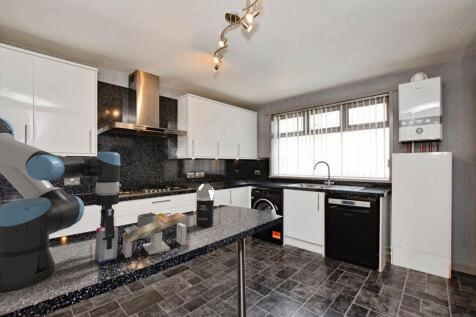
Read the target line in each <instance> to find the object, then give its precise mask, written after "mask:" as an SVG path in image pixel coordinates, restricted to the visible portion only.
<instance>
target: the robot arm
mask: <svg viewBox="0 0 476 317" xmlns="http://www.w3.org/2000/svg"><path fill="white" fill-rule="evenodd" d="M121 165H122V164H121V155H120V153H118V152H116V151H115V152H113V151H112V152H111V151H98V152H97V153H96V157H95V156H94V157H92V156H91V157H88V156H85V157H84V156H68V155H67V156H65V155H64V156H63V155H56V154H53V153H51V152H49V151H46V150H43V149H40V148H37V147H36V146H33V145H30V144H27V143H25V142H22V141H19V140H17V139H15V130H14V126H13V125H12V124H11V123H10V122H9V121H8V120H7V119H5V118H3V117H0V173H1V175H2V176H3V177H4V178H5V179H6V180H7V181H8V182H9V183H10V184H11V185H12V186H13V188H14V189H15V190H17V192H18V193H19V194H20V195H21V196H22V197H23V199H17V200H14V201H10V202H7V203H5V204H3V205H1V206H0V292H1V293H2V292H8V291H13V290H14V291H15V290H18V289H23V288H26V287H29V286H32V285H35V284H38V283H40V282H43V281H44V280H46V279H48V278H49V277H51V276H52V275H53V274H54V273H55V269H56V263H55V260H54V257H53V255H52V252H51V250H50V248H49V247H50V246H49V244H50V243H49V242H50V235H52V234H54V233H57V232H60V231H62V230H66V229H69V228H70V227H72V226H74V225H76V224H77V223H79V222H80V221H81V220H82V218H83V216H84V214H85V213H84V212H85V204H84V202H83V200H82V199H81V198H80V197H79V196H77V195H69V194H68V193H67V192H66V191H65V190H64V189H63V188H61V187H55V186H53V184H52V183H51V182H50V181H54V180H55V181H57V180H65V179H77V178H78V179H79V178H95V180H96V181H95V194H96V195H95V205H96V206H97V207H98V206H99V207H100V206H101V207H100V208H101V209H100V224H99V226H100V227H105V238H103V240H104V259H108V258H112V257H113V246H114V238H115V233H114V226H115V215H114V214H115V209H114V208H113V206H114V205H118V204H119V203H120V193H119V192H120V187H122V184H121V183H120V175H121V172H120V171H121Z"/></svg>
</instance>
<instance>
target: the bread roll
mask: <svg viewBox="0 0 476 317" xmlns="http://www.w3.org/2000/svg"><path fill="white" fill-rule="evenodd" d="M149 213H152V214H156V221H158V220H160V219H162V218H164V217H167V216H168V215H167V213H162V212H160V213H158V214H157V213H153V212H149Z"/></svg>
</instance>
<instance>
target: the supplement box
mask: <svg viewBox="0 0 476 317" xmlns="http://www.w3.org/2000/svg"><path fill="white" fill-rule="evenodd" d="M118 232H119V228H118V227H117V226H115V225H114V233H115V238H114V246H113V257H112V258H108V259H104V240H103V238H105V227H101V226H100V227H96V232H95V233H96V234H95V235H96V236H95V248H94V249H95V252H94V260H95V261H96V262H97V263H98V264H99V265H101V264H104V263H109V262H111V261H114V260H117V259H118V257H117V256H118V238H119V237H118V234H119V233H118Z"/></svg>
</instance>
